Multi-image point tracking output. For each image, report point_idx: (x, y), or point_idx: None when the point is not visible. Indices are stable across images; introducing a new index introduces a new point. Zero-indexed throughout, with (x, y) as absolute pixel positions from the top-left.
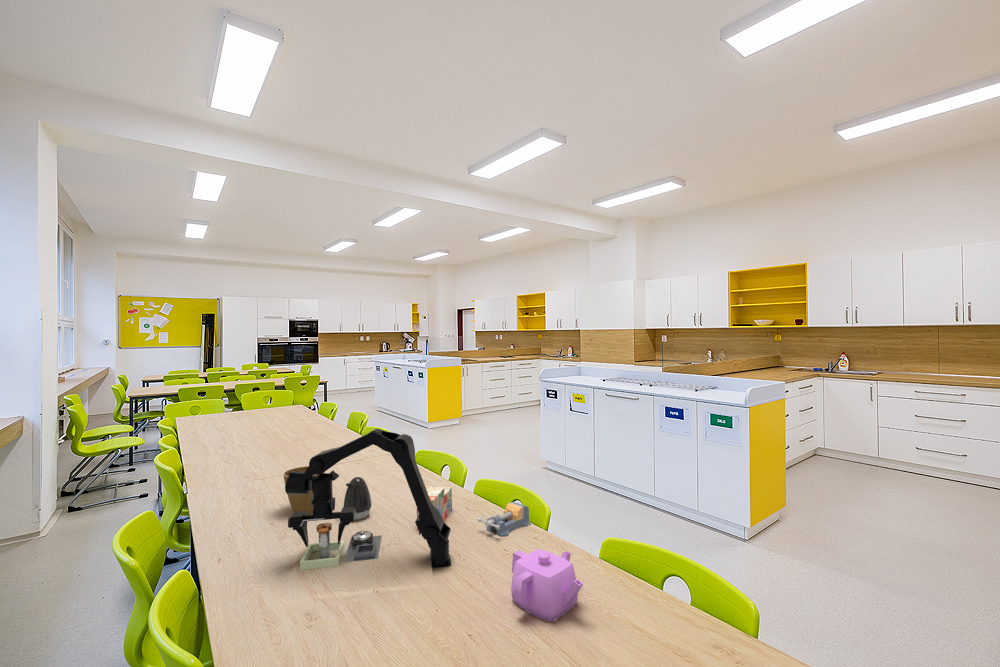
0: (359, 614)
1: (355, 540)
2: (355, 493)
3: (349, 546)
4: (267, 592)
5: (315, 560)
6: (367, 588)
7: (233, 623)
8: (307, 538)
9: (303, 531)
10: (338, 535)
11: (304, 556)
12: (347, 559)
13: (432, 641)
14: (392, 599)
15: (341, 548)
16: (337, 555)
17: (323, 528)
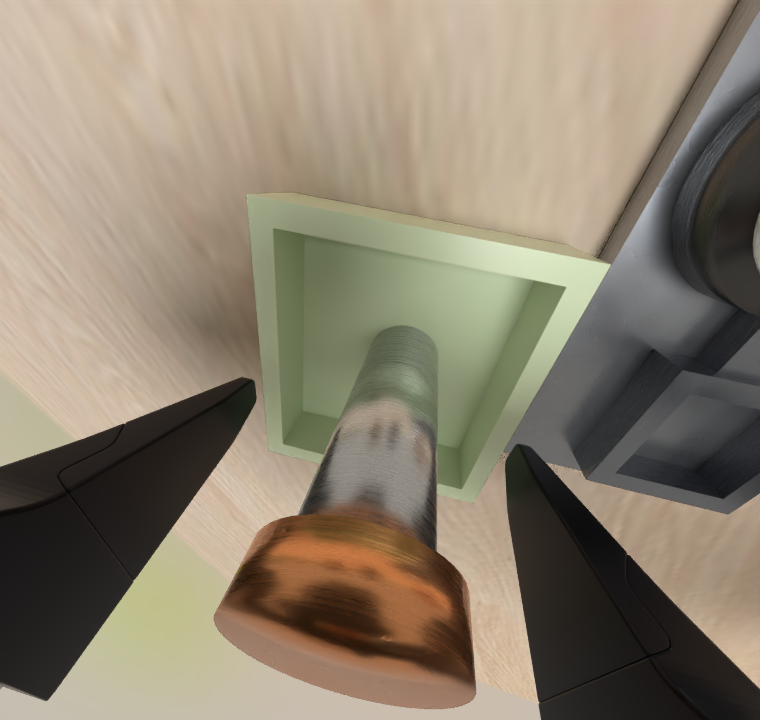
0: (482, 629)
1: (736, 283)
2: None
3: (630, 251)
4: (220, 472)
5: None
6: None
7: (202, 537)
8: (206, 436)
9: (108, 616)
10: (524, 586)
11: (273, 403)
12: (534, 436)
13: None
14: None
15: (527, 407)
16: (476, 474)
17: (340, 691)
